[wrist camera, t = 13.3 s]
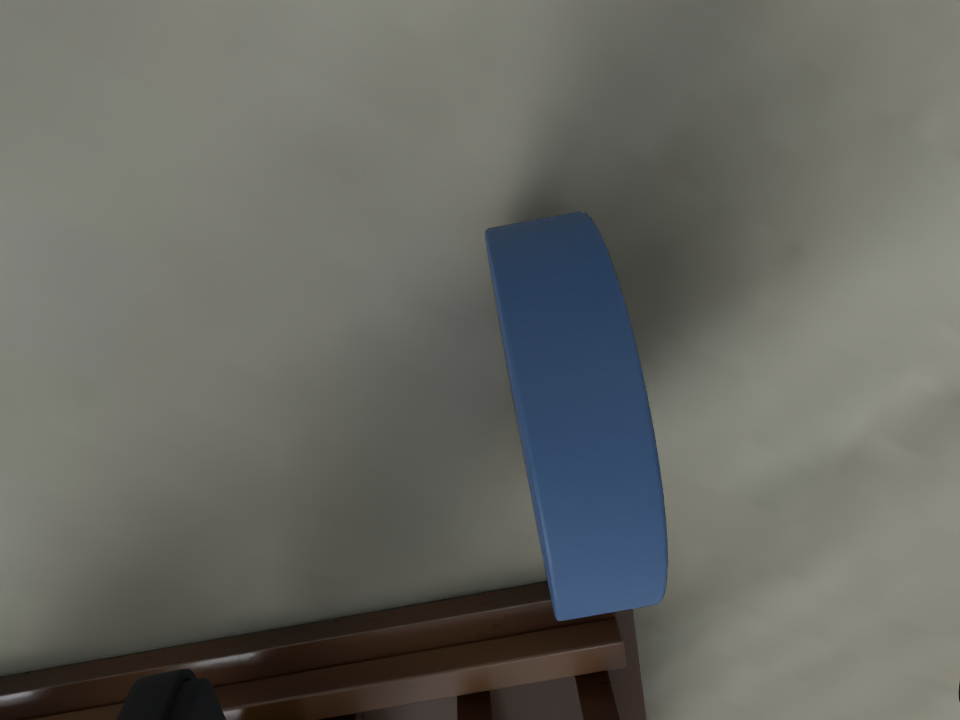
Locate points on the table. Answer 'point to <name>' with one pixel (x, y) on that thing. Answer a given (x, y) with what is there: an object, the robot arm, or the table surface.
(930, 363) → the table surface
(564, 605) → the blue disc
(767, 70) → the table surface
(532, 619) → the disc rack
